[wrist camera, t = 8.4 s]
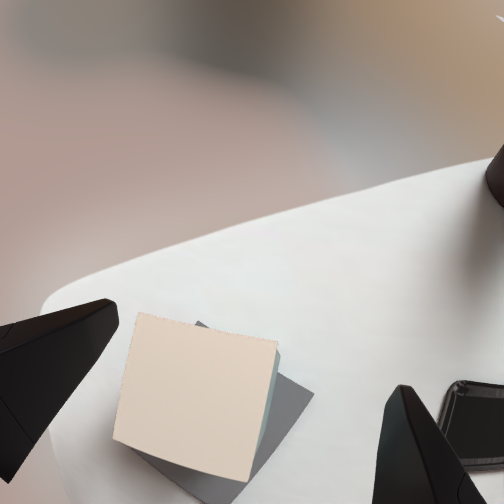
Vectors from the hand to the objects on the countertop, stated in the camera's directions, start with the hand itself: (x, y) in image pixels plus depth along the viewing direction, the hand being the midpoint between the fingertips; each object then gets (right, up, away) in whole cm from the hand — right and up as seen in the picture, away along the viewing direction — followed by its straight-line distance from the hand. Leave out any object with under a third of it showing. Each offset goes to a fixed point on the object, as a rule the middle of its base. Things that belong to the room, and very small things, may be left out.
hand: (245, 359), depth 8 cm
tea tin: (-1, -6, +12) cm, 13 cm away
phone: (+22, -13, +8) cm, 26 cm away
